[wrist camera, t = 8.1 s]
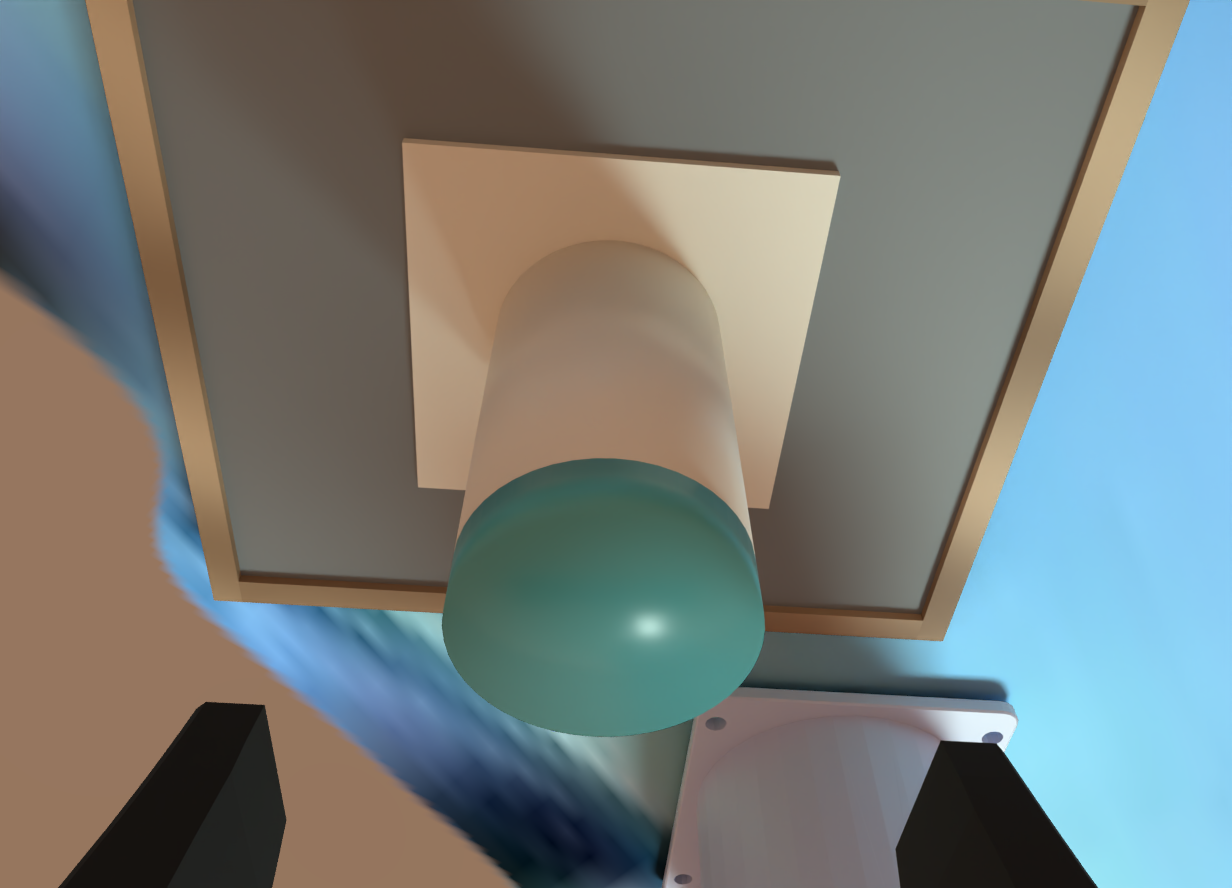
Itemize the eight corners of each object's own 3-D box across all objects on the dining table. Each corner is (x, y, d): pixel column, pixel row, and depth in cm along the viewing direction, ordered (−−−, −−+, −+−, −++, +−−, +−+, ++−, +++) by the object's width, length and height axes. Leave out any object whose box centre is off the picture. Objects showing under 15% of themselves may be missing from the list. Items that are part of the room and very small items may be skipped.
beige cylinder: (704, 440, 20) (738, 743, 14) (494, 427, 20) (445, 729, 14) (735, 249, 17) (791, 522, 12) (496, 231, 17) (438, 501, 12)
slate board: (929, 602, 24) (942, 641, 23) (231, 562, 23) (214, 600, 22) (1167, -53, 16) (1203, -36, 15) (92, -147, 15) (56, -135, 14)
